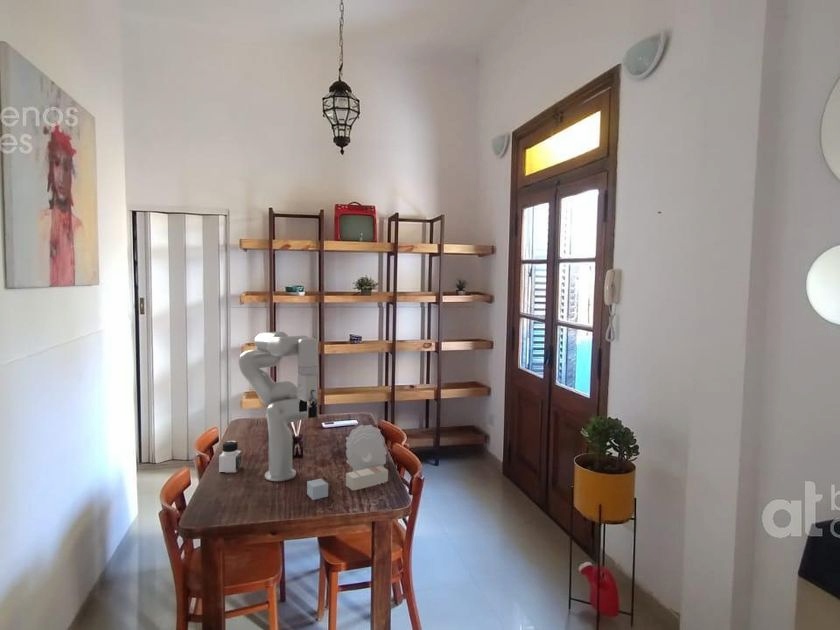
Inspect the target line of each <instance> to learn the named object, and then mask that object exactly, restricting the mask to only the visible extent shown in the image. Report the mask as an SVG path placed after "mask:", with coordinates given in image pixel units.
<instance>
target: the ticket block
mask: <svg viewBox="0 0 840 630" xmlns="http://www.w3.org/2000/svg"><path fill="white" fill-rule="evenodd" d="M387 481H388V482H389V470H388V469H387V468H385V466H383V467H382V466H377V467H371V468H368V469H363V470H359V471H350V472H346V473H345V487H348V488H349V489H350V490H351V491H357V490H361V489H366V488H369V487H373V486H378V485H382V484H381V483H383V484H385V483H384V482H387ZM388 482H387V483H388ZM377 484H378V485H377Z"/></svg>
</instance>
